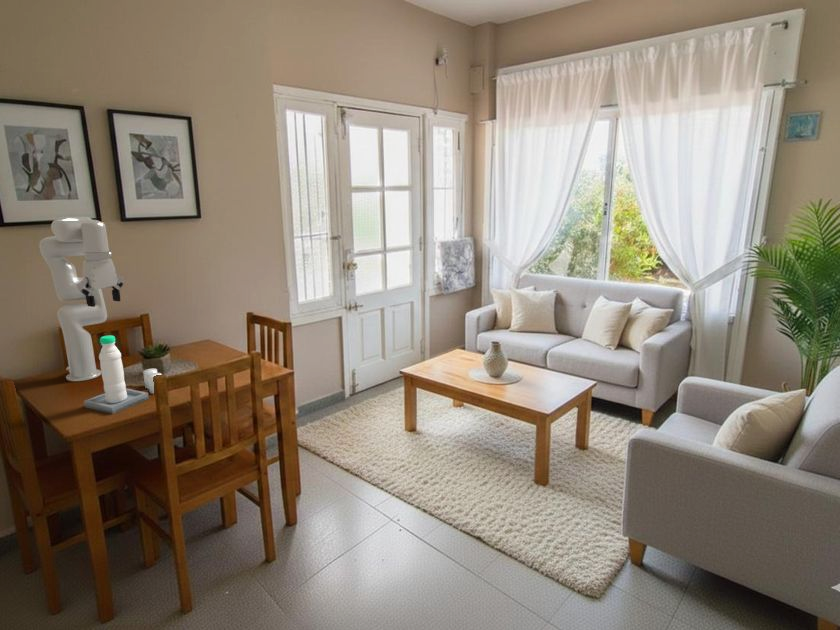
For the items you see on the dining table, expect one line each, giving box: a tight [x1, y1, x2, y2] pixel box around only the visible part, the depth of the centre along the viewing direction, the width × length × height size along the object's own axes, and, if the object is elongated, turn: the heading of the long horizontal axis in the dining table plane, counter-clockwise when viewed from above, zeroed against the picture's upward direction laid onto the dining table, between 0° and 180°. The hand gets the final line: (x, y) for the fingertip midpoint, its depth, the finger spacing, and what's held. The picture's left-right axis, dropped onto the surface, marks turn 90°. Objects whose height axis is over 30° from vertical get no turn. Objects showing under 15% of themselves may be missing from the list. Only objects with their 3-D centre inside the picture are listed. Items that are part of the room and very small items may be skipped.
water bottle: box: [98, 335, 127, 403], centre depth 190 cm, size 7×7×25 cm
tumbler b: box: [142, 367, 158, 390], centre depth 208 cm, size 5×5×7 cm
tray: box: [83, 387, 150, 415], centre depth 193 cm, size 15×15×2 cm
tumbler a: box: [147, 372, 163, 395], centre depth 203 cm, size 5×5×7 cm
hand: (104, 303), depth 186 cm, fingers open, 9 cm apart
